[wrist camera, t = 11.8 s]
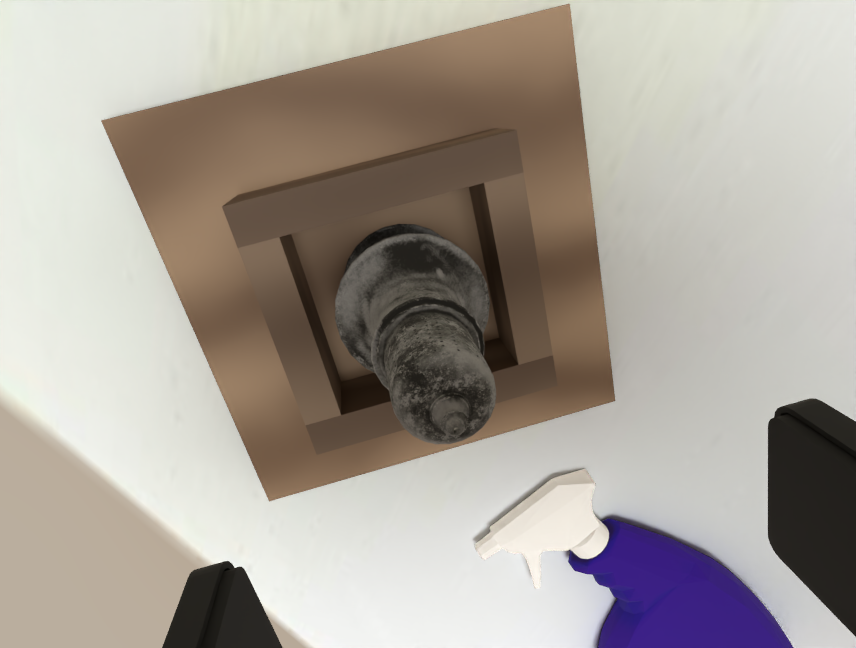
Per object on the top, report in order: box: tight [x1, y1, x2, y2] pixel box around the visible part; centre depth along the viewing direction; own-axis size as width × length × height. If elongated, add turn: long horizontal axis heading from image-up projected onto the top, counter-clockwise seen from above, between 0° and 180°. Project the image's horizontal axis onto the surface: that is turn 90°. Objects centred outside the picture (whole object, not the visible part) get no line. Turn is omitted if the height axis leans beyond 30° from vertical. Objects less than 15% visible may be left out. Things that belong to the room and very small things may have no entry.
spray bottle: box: [475, 469, 793, 648], centre depth 33 cm, size 3×11×24 cm
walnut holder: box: [102, 4, 615, 501], centre depth 23 cm, size 18×18×4 cm
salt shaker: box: [335, 224, 496, 444], centre depth 18 cm, size 6×6×12 cm
